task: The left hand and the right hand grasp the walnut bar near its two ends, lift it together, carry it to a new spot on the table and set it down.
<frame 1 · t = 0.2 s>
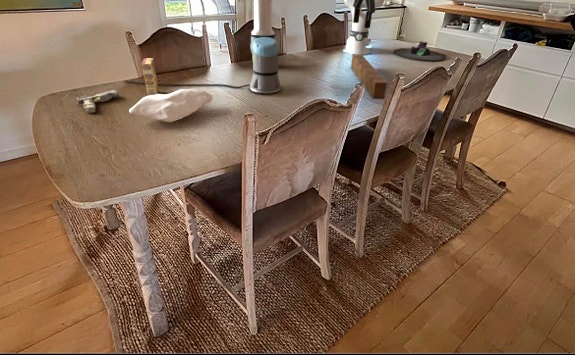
left hand: (361, 25, 181), 28 cm above the table, tool pointing down, fingers open, 13 cm apart
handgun: (101, 103, 156), on the table
crumpled cloth: (172, 113, 149), on the table
snack cup: (264, 66, 212), on the table
candy box: (153, 94, 167), on the table
bar: (365, 81, 195), on the table
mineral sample: (418, 55, 249), on the table
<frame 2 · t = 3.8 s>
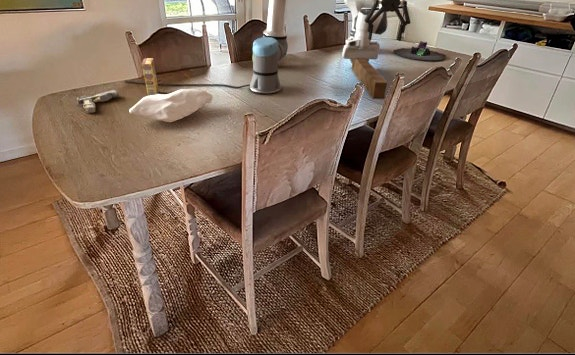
left hand: (384, 40, 165), 25 cm above the table, tool pointing down, fingers open, 13 cm apart
right hand: (358, 66, 210), 3 cm above the table, tool pointing down, fingers closed on bar, 5 cm apart
bar: (365, 81, 195), on the table, touching right hand
everything else where it was.
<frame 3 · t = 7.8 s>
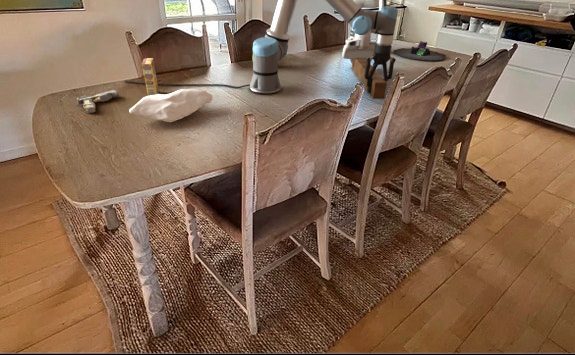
left hand: (375, 92, 179), 1 cm above the table, tool pointing down, fingers closed on bar, 6 cm apart
right hand: (358, 66, 210), 3 cm above the table, tool pointing down, fingers closed on bar, 5 cm apart
bar: (365, 81, 195), on the table, touching left hand, right hand
everything else where it was.
when the left hand's fingers open (2 cm above the table, at t = 18.6 s): bar drops 1 cm, on the table.
when the right hand's fingers open (4 cm above the table, at t = 18.8 s): bar stays where it is, on the table.
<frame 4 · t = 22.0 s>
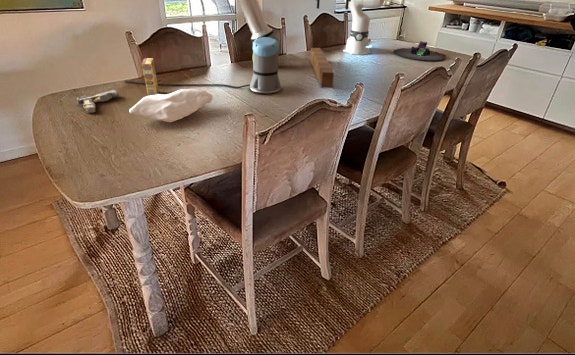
left hand: (332, 8, 170), 36 cm above the table, tool pointing down, fingers open, 13 cm apart
bar: (320, 72, 205), on the table
everything else where it was.
at the end: bar inside the target area (0.2 cm from its centre), on the table; bar tilted 0°; bar never tilted more than 2° during the clip; both hands held the bar at the same time; the left hand is holding nothing; the right hand is holding nothing; bar at rest at the end (0.0 cm/s) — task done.
